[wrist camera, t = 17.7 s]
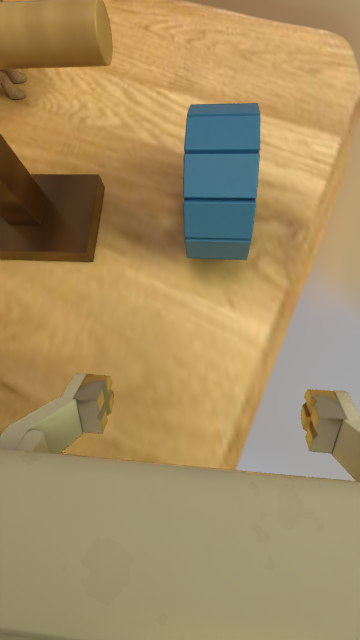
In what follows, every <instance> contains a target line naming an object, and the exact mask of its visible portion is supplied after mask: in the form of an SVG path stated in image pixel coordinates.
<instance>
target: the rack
mask: <svg viewBox="0 0 360 640" xmlns="http://www.w3.org/2000/svg"><path fill="white" fill-rule="evenodd" d="M112 51H113V46H112V33H111V27H110V21H109V17H108V13H107V10H106V7H105V4H104V2H103V0H34V1H15V2H0V69H29V68H61V67H93V66H109V65H110V64H111V61H112ZM104 189H105V187H104V184H103V182H102V180H101V178H100V176H99V175H56V174H30V173H29V172H28V171H27V169H26V168H25V166H24V165H23V164H22V162H21V161H20V160H19V158H18V157H17V156H16V154H15V153H14V152H13V150H12V149H11V148H10V146H9V145H8V144H7V142H6V141H5V140H4V138H3V137H2V135H1V134H0V259H14V260H47V261H81V262H93V259H94V252H95V246H96V240H97V233H98V227H99V220H100V214H101V208H102V201H103V195H104Z"/></svg>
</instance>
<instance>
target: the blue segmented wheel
mask: <svg viewBox="0 0 360 640" xmlns="http://www.w3.org/2000/svg"><path fill="white" fill-rule="evenodd" d="M184 151H185V154H184V177H183V197H184V201H183V214H184V237H185V247H186V254H187V258H197V259H234V260H246V259H247V257H248V253H249V248H250V244H251V238H252V232H253V224H254V216H255V208H256V200H255V199H256V197H257V186H258V172H259V158H260V154H259V151H260V111H259V107H258V103H246V104H197V105H190V108H189V111H188V114H187V122H186V134H185V146H184Z"/></svg>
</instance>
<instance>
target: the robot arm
mask: <svg viewBox="0 0 360 640" xmlns="http://www.w3.org/2000/svg"><path fill="white" fill-rule="evenodd" d="M111 385H112V379H111V377H110V376H105V375H94V374H81V373H76V374H75V375H74V376H73V378H72V379H71V381H70V382H69V384H68V386H67V387H66V389H65V390H64V392H63V394H62V395H61V397H60V398H55V399H54V400H52V401H50V402H49V403H47V404H45V405H43V406H42V407H40V408H38V409H36V410H35V411H33V412H31V413H30V414H28V415H26V416H24V417H23V418H21V419H19V420H17V421H16V422H14V423H12V424H11V425H9V426H7V427H6V428H5V430H4V431H3V432H2V434H1V435H0V640H360V416H359V414H358V412H357V410H356V408H355V406H354V404H353V402H352V400H351V398H350V396H349V394H348V392H346V391H326V390H309V389H307V391H306V393H305V400H306V403H305V404H303V406H302V410H301V421H302V426H303V429H304V430H305V431H306V432H307V434H306V441H307V444H308V448H309V451H313V452H323V453H331V454H332V455H333V456H334V457H335V459H336V460H337V461H338V462H339V463H340V464H341V465H342V466H343V467H344V468H345V469H346V470H347V472H348V473H349V474H350V475H351V476H352V477H353V478H354V479H355V480H356V481H347V480H337V479H326V478H314V477H303V476H292V475H282V474H271V473H260V472H249V471H239V470H228V469H217V468H206V467H195V466H185V465H174V464H163V463H152V462H141V461H130V460H119V459H108V458H97V457H87V456H76V455H65V454H60V453H61V452H62V451H63V450H64V449H65V448H67V447H68V446H69V445H70V444H71V443H72V442H74V441H75V440H76V439H77V438H78V437H79V436H80V435H82V434H83V432H85V433H103V431H104V429H105V426H106V424H107V416H108V415H109V414H110V413H111V411H112V408H113V403H114V392H113V391H112V390H111Z"/></svg>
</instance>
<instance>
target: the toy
mask: <svg viewBox="0 0 360 640" xmlns="http://www.w3.org/2000/svg"><path fill="white" fill-rule="evenodd" d="M0 2H3V1H2V0H0ZM5 72H6V73H5ZM6 74H7V75H6ZM9 79H10V80H9ZM26 80H27V76H26V75H25V74H23V73H21V72H18V71H17V70H16V69H0V83H1V85H2V87H3V88H4V90H5V92H6V93H7V95H8V96H9V97H10V98H11V99H23V98H25V96H26V94H25V92H24V91H22V90H20V89H18V88H16V87H15V86H14V85H13V84H12V83H22V82H25V81H26ZM11 82H12V83H11Z"/></svg>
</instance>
